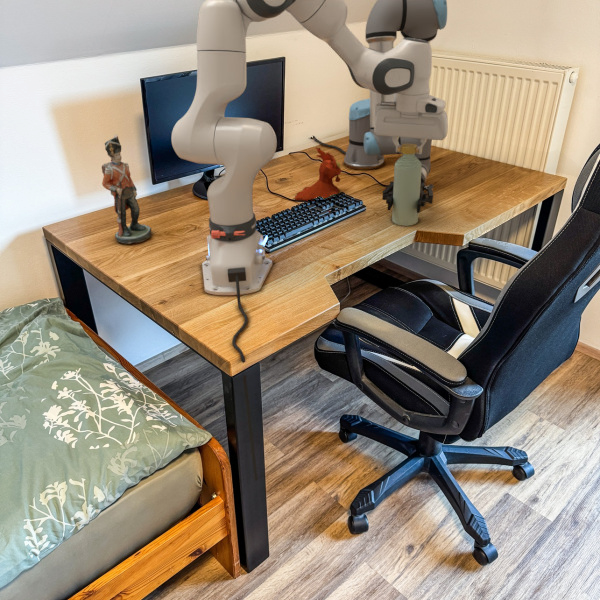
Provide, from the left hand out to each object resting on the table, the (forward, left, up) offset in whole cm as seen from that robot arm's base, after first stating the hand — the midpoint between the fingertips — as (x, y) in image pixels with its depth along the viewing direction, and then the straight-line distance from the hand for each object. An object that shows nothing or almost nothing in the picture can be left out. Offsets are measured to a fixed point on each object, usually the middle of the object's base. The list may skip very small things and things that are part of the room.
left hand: (408, 152), depth 160 cm
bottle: (0, 0, -21) cm, 21 cm away
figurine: (-5, +82, -21) cm, 85 cm away
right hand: (-5, +1, -15) cm, 15 cm away
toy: (+24, +26, -21) cm, 41 cm away
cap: (0, 0, +2) cm, 2 cm away
